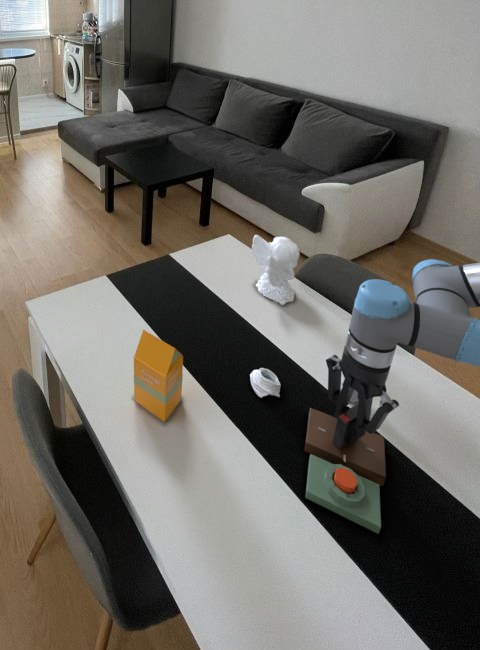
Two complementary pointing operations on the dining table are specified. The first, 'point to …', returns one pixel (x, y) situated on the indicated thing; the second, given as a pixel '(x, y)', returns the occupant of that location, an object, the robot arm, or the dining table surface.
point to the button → (345, 480)
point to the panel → (346, 448)
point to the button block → (344, 494)
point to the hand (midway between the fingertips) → (345, 436)
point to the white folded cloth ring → (265, 383)
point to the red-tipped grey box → (344, 427)
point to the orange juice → (157, 376)
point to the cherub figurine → (276, 267)
